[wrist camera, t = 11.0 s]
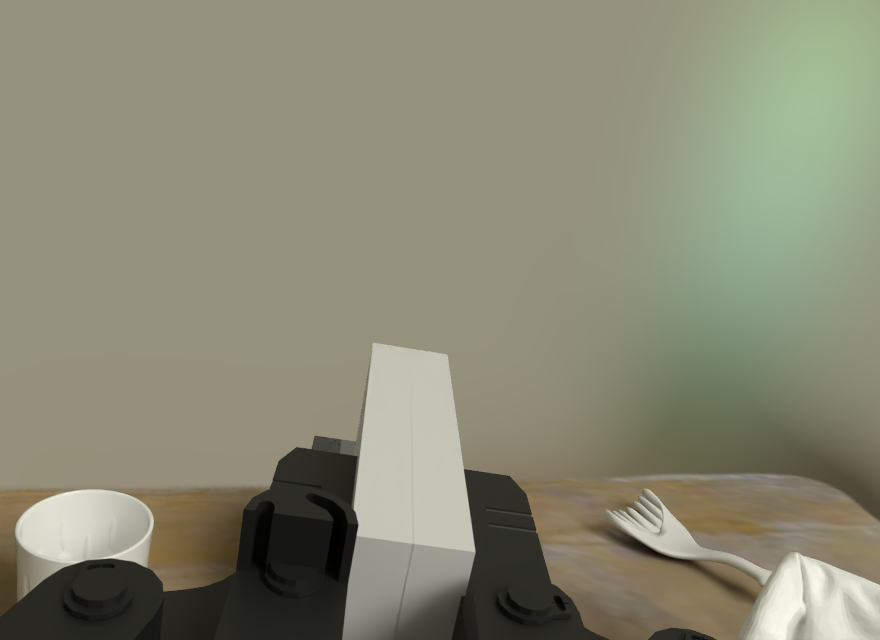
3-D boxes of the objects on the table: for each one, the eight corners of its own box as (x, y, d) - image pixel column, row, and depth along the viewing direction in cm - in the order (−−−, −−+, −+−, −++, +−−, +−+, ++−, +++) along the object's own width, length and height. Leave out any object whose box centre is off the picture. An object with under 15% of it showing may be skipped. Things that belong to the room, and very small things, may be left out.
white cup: (-14, 652, 50) (-13, 520, 47) (95, 595, 57) (102, 476, 54) (61, 719, 46) (67, 580, 43) (168, 650, 53) (180, 525, 50)
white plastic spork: (637, 511, 84) (645, 483, 83) (972, 698, 65) (988, 665, 64) (593, 536, 77) (602, 506, 76) (952, 754, 58) (970, 718, 57)
